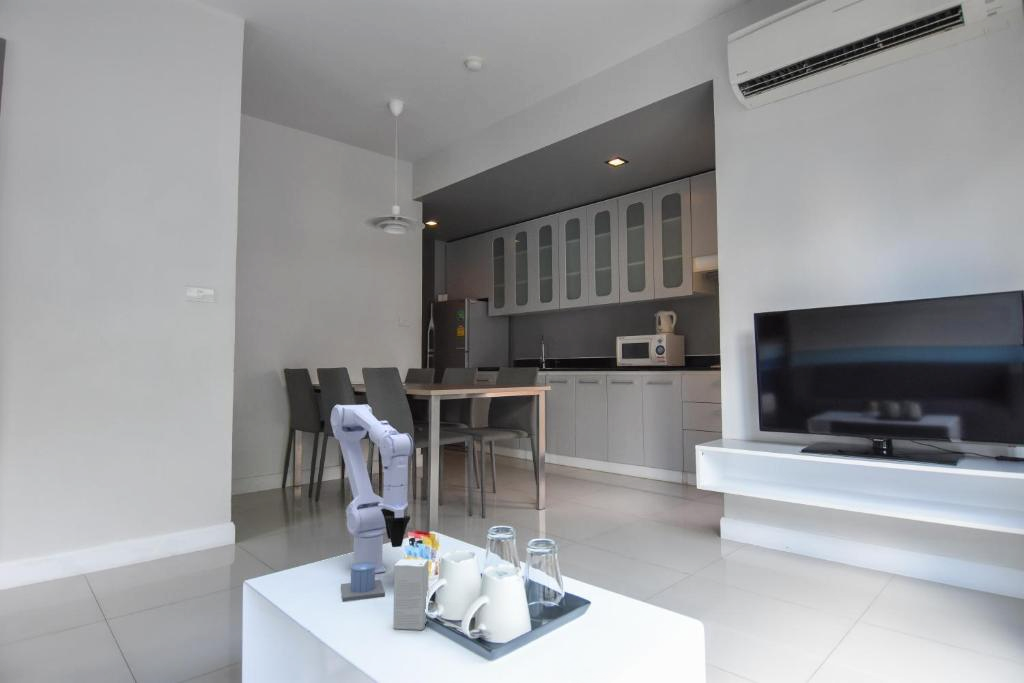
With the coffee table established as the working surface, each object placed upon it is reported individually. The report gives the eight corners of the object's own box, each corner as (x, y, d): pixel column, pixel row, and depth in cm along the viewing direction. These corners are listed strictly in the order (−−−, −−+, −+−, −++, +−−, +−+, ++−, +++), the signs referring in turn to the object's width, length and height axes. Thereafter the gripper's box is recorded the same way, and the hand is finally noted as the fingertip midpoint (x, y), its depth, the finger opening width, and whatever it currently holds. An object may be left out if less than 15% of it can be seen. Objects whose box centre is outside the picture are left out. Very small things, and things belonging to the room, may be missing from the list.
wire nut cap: (350, 585, 125) (350, 563, 126) (373, 583, 127) (373, 561, 128) (351, 593, 121) (352, 570, 121) (375, 590, 122) (375, 567, 123)
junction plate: (340, 587, 126) (341, 570, 127) (380, 582, 130) (380, 566, 130) (342, 601, 118) (343, 583, 118) (384, 596, 121) (385, 578, 121)
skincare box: (428, 621, 108) (429, 559, 109) (423, 630, 104) (424, 566, 105) (398, 620, 109) (400, 558, 110) (392, 629, 104) (393, 565, 105)
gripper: (375, 480, 137) (374, 536, 136) (382, 490, 124) (380, 552, 122) (403, 479, 139) (402, 533, 138) (413, 488, 126) (412, 549, 125)
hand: (394, 542), depth 130 cm, fingers open, 7 cm apart
